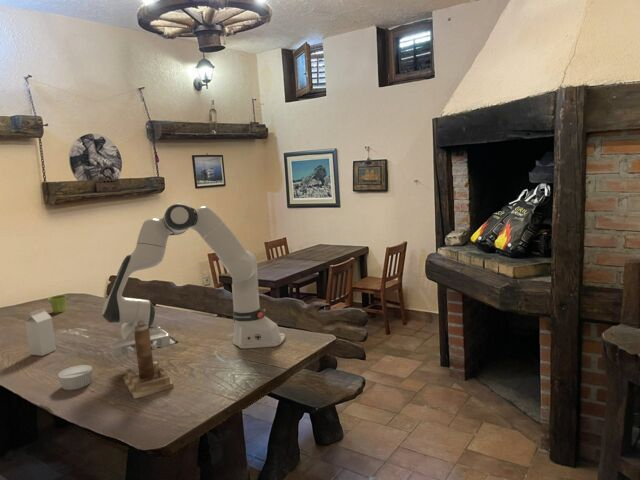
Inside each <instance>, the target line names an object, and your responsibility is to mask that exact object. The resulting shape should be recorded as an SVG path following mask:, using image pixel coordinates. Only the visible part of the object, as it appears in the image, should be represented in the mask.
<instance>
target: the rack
mask: <svg viewBox="0 0 640 480" xmlns="http://www.w3.org/2000/svg"><path fill="white" fill-rule="evenodd" d="M153 366H154V377H152V378H149V379H140V378H139V372H136V373H134V372H133V371H132V369H131V368H130V367H129V368H126V369H125V373H126V374H125V376H123V381H124V383H125V385H126V386H127V389H128V391H129V392H130V394H131V395H132V397H133V399H138V398H141V397H146V396H149V395H152V394H156V393H159V392H163V391H166V390H169V389H173V388H174V387H175V385H174V382H173V381H172V380H171V378H170V376H169V375H168V374H167V372H166V371H165V370H164V368H163V367H162V366H161V365H160V364H159V362H158V361H153Z"/></svg>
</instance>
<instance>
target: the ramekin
mask: <svg viewBox="0 0 640 480" xmlns="http://www.w3.org/2000/svg"><path fill="white" fill-rule="evenodd" d="M93 370H94V369H93V367H92V365H89V364H79V365H74V366H71V367H67V368H65V369H63V370H60V372H59V373H58V374H57V378H58V380H59V383H60V385H61V388H62V389H64V390H65V391H75V390H79V389H83V388H84V387H87V386H88V385H90V384H91V382H92V378H93V377H92V376H93Z"/></svg>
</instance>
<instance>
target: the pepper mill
mask: <svg viewBox="0 0 640 480" xmlns="http://www.w3.org/2000/svg"><path fill="white" fill-rule="evenodd" d="M134 335H135V344H136V349H137V354H136V359H137V368H138V369H137V370H138V373H139V378H140V379H149V378H152V377H154V366H153V362H154V361H153V360H154V357H153V350H152V349H151V340H150V331H149V328H148V324H145V323H144V321H142V320H140V321H138V323H137V326H135V331H134Z"/></svg>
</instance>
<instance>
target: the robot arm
mask: <svg viewBox="0 0 640 480" xmlns="http://www.w3.org/2000/svg"><path fill="white" fill-rule="evenodd" d="M189 229H190V230H194V231H195V232H196V233H198V235H199V236H200V237H201V238H202V239H203V241H204V242H205V243H206V244H207V245H208V246H209V248H211V250H212V251H213V253H214V254H215V255H216V256H217V257H218V260H219V261H220V263H221V264H222V266H223V267H224V268H225V270H226V272H227V273H228V274H229V276H230V278H232V294H231V295H232V305H233V310H232V318H233V319H232V320H233V323H234V332H233V339H232V343H233V345H235V346H237V347H238V348H239V349H255V348H256V349H257V348H259V349H260V348H270V347H271V348H272V347H273V348H274V347H277V346H279V345H282V343H283V342H284V341H285V339H286V335H285V333H281V332H280V329H279V326H278V324H277V322H274V321H272V320H271V319H270V318H268V317H267V316H265V315H266V314H265V312H266V308H264V309H263V308H261V307H260V295H259V275H258V260H257V257H256V255H255V254H254V253H253V252H251V251H249V250H245V248H244V247H243V246H242V244H241V243H240V241H239V239H238V238H237V236H236V234H234V232H232V230H231V229H230V228H229V226H228V225H227V224H226V223H225V222H224V221H223V219H222V218H221V217H220V216H218V214H217V213H216V212H214V211H213V210H212V209H211V208H210V207H208V206H200V207H197V208H193V207H192V206H189V205H186V204H182V203H173V204H172V205H170V206H169V207H167V209H166V211H165V213H164V215H163V217H161V218H148V219H146V220H144V221H143V223H142V225H141V227H140V230H139V234H138V236H137V237H138V238H137V242H136V244H135V248H134V250H133V251H132V253H131V254H128V255H126V256H125V257H124V259H123V261H122V263H121V265H120V267H119V269H118V270H117V274H116V277H115V279H114V282H113V284H112V287H111V288H110V291H109V293H108V296H107V298H106V299H105V302H104V304H103V305H102V306H103V307H102V314H101V315H102V317H103V318H104V320H106V322H108V323H111V324H112V323H113V324H114V323H116V324H117V323H122V325H121V328H120V336H121V339H119V340H118V339H117V340H114V341H112V342H111V343H110V345H109V344H108V346H107V348H108V350H110V352H111V353H110V354H111V357H113V358H114V357H115V358H116V357H120V356H123V355H124V356H125V355H129V354H131V355H137V349H136V344H135V335H134V331H135V326H137V323H138V321H140V320H142V321H144V323H145V324H148V328H149V331H150V340H151V349H152V351H156V350H157V347H160V346H163V347H166V346H165V345H167V346H170V345H169V344H170V334H169V332H168V331H166V330H164V329H162V328H161V326H153V323H154V321H155V316H156V315H155V313H156V311H155V310H156V309H155V306H154V304H153V303H152V301H151V300H149V299H143V298H136V297H135V298H134V297H125V296H123V292H124V290H125V287H126V285H127V283H128V281H129V280H128V279H129V277H130V276H131V275H132V274H133V273H134V272H138V271H142V270H147V269H151V268H154V267H155V268H156V267H157V266H158V265H159V264H161V263H162V261H163V259H164V258H165V253H166V248H167V243H168V240H169V239H168V238H169V237H170V236H179V235H182V234H184V233H186V231H188V230H189ZM160 348H161V347H160Z"/></svg>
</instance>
